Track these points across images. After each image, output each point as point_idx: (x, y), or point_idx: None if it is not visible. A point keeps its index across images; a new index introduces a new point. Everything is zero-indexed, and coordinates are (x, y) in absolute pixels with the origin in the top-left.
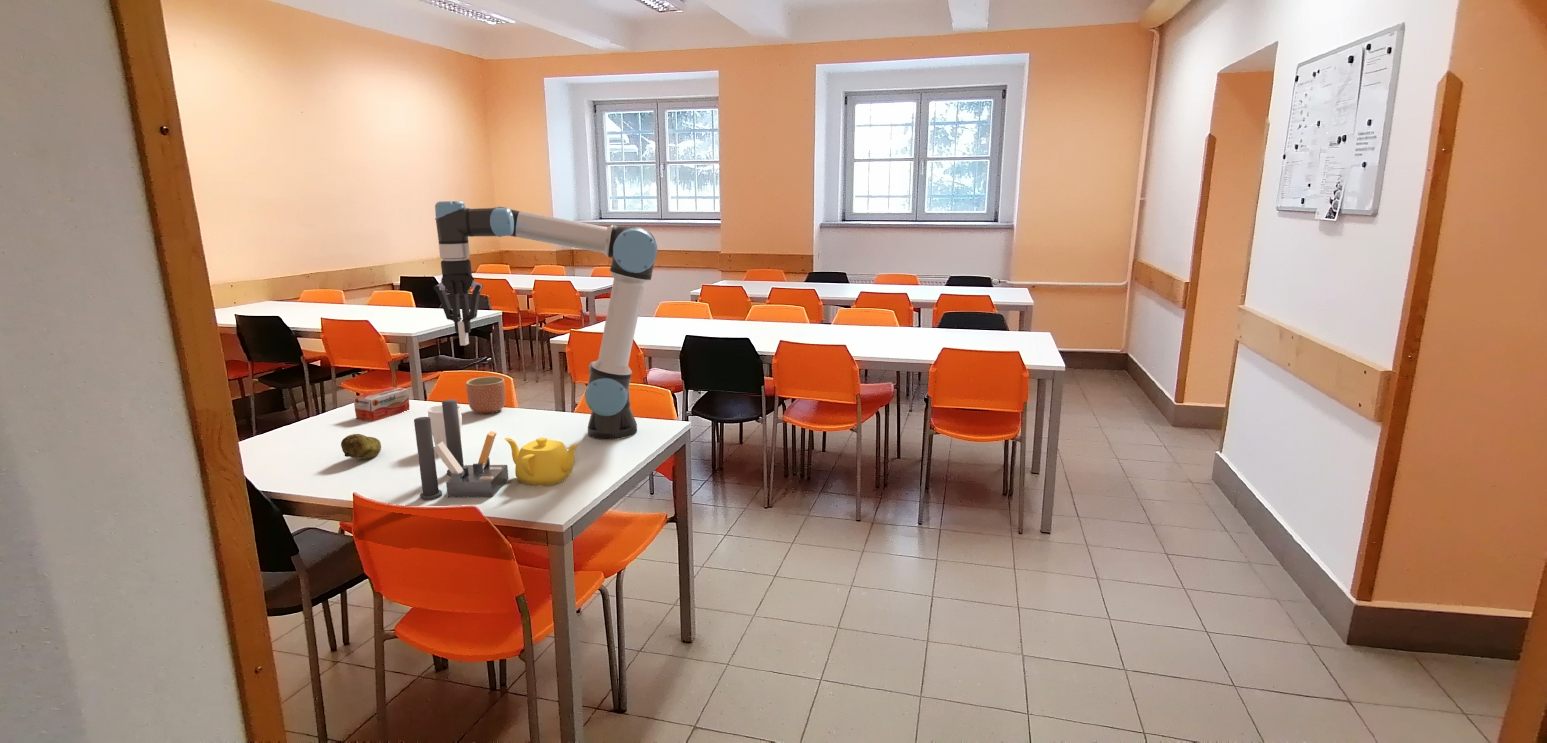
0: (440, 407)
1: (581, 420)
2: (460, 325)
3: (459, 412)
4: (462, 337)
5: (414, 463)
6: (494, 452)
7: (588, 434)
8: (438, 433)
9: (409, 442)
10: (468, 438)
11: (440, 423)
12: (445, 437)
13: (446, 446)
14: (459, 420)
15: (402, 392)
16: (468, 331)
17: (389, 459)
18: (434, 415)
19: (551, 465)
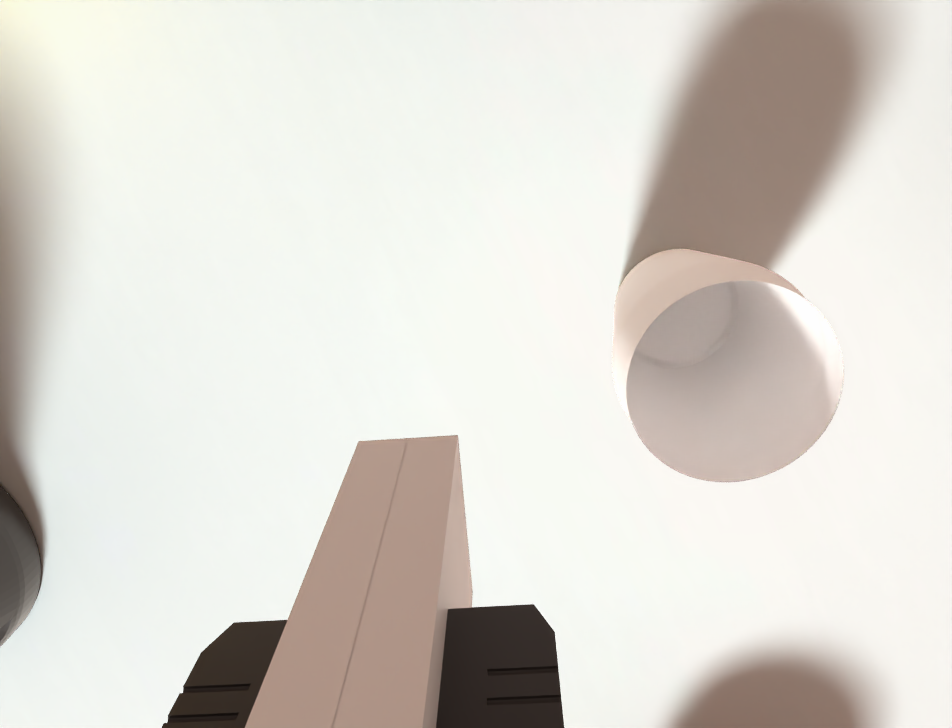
0: (788, 454)
1: (164, 716)
2: (340, 704)
3: (620, 379)
4: (376, 510)
5: (762, 39)
6: (386, 236)
7: (9, 500)
8: (715, 255)
9: (927, 385)
10: (626, 452)
11: (706, 260)
12: (670, 258)
13: (663, 253)
14: (613, 348)
15: None
16: (224, 647)
17: (935, 102)
18: (760, 277)
19: None
